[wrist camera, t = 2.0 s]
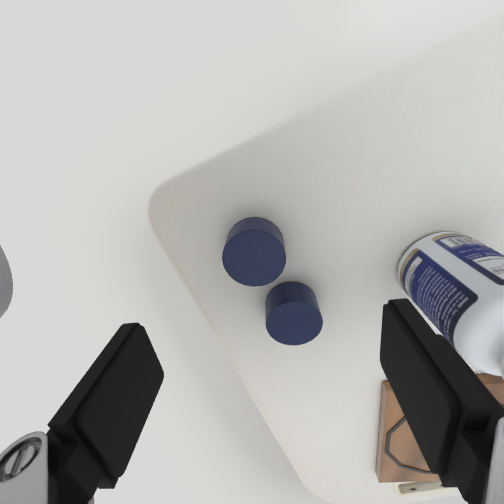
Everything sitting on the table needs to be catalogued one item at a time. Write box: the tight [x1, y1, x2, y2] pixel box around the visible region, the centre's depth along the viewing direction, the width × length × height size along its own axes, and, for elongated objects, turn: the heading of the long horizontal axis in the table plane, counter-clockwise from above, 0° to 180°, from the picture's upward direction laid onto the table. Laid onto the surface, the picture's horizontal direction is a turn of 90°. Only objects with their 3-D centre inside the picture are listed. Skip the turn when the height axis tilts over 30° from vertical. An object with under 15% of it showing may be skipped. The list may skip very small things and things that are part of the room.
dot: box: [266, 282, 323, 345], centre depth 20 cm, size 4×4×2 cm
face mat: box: [376, 374, 504, 483], centre depth 26 cm, size 18×16×1 cm
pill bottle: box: [397, 232, 504, 379], centre depth 14 cm, size 5×5×10 cm
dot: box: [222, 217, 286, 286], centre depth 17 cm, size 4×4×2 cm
